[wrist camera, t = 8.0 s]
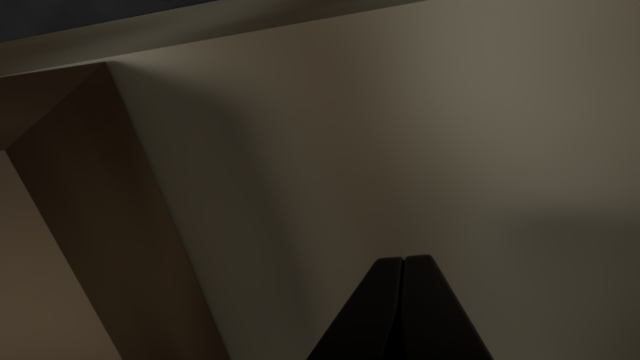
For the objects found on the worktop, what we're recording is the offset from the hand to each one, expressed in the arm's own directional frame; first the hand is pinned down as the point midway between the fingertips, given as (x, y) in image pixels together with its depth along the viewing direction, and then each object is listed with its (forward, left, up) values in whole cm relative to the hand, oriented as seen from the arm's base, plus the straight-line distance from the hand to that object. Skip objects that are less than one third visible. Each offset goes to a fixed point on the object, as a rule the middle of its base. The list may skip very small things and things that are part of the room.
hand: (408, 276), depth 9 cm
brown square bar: (-6, -4, -2) cm, 8 cm away
